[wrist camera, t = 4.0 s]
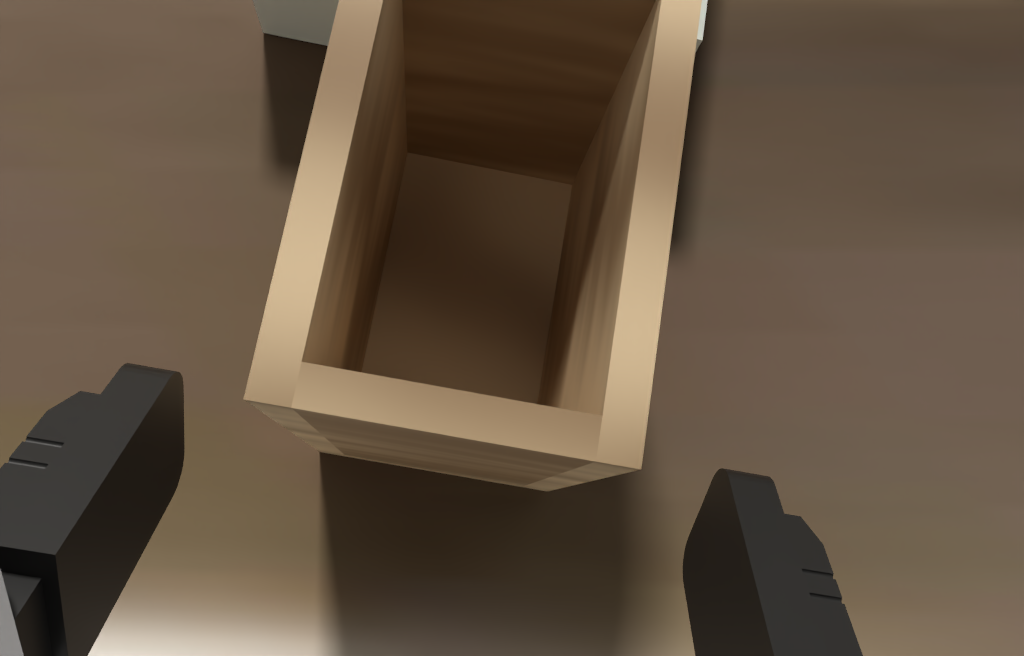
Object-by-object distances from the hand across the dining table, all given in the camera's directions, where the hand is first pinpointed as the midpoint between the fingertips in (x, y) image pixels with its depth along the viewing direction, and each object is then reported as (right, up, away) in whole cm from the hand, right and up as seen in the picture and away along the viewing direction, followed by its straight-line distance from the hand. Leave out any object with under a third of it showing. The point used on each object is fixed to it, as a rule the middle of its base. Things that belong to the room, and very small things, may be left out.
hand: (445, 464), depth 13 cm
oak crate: (0, +3, +11) cm, 11 cm away
